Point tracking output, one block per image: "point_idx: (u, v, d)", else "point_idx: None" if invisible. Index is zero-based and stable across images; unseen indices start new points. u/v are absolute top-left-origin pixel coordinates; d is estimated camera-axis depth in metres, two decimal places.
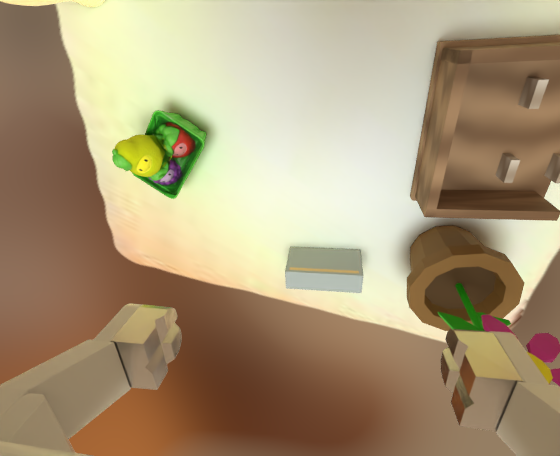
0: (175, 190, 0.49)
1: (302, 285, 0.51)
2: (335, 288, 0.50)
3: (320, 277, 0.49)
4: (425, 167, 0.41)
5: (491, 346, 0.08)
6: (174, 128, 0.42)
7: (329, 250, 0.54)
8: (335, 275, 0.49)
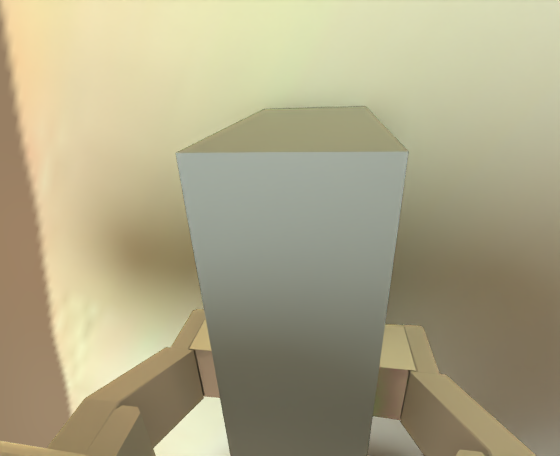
0: None
1: (241, 294, 0.06)
2: (252, 455, 0.08)
3: (336, 403, 0.07)
4: None
5: (397, 338, 0.08)
6: None
7: None
8: None
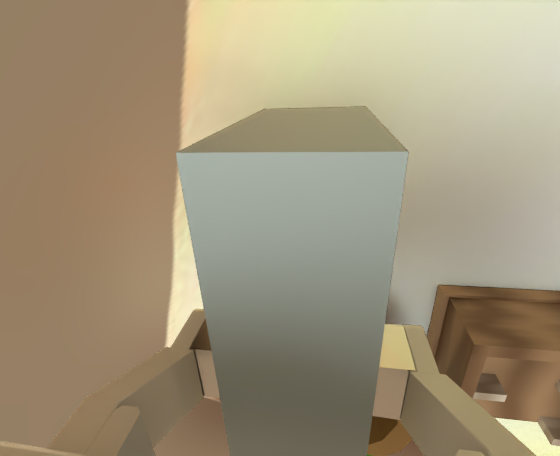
0: None
1: (241, 294, 0.06)
2: (252, 455, 0.08)
3: (336, 403, 0.07)
4: (522, 316, 0.28)
5: (397, 338, 0.08)
6: None
7: None
8: None
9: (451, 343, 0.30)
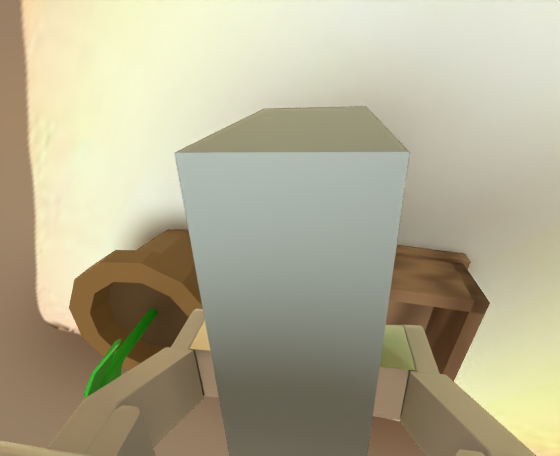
0: None
1: (241, 295, 0.06)
2: None
3: (335, 404, 0.07)
4: None
5: (397, 338, 0.08)
6: None
7: None
8: None
9: None
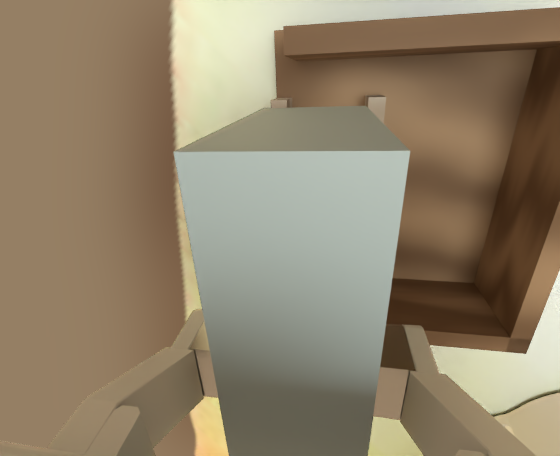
0: None
1: (240, 295, 0.06)
2: None
3: (336, 404, 0.07)
4: None
5: (397, 338, 0.08)
6: None
7: None
8: None
9: None
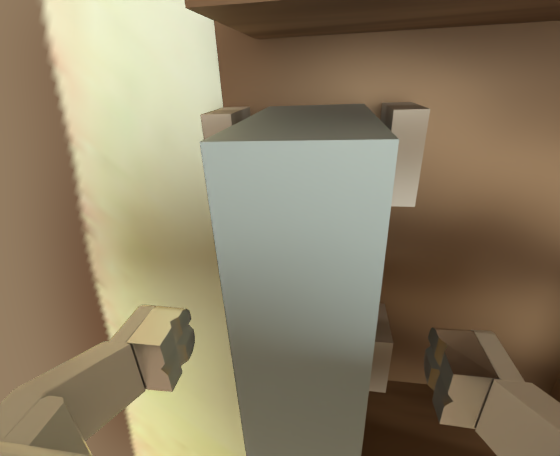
0: None
1: (254, 268, 0.07)
2: (261, 421, 0.09)
3: (337, 367, 0.08)
4: None
5: (471, 344, 0.08)
6: None
7: None
8: (355, 430, 0.09)
9: None
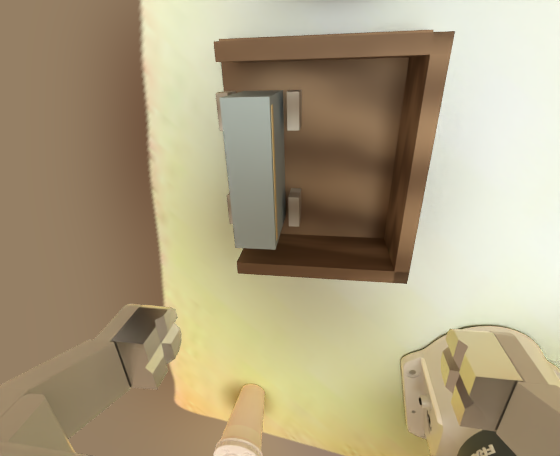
0: None
1: (234, 137, 0.23)
2: (238, 204, 0.25)
3: (262, 175, 0.24)
4: None
5: (491, 346, 0.08)
6: None
7: (283, 168, 0.30)
8: (270, 204, 0.25)
9: None
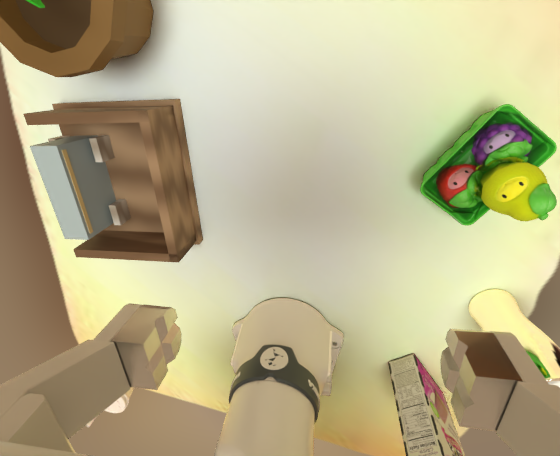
0: (498, 110, 0.32)
1: (44, 169, 0.37)
2: (58, 210, 0.40)
3: (66, 191, 0.38)
4: (172, 152, 0.39)
5: (491, 346, 0.08)
6: (454, 205, 0.35)
7: (108, 186, 0.44)
8: (76, 210, 0.39)
9: (135, 108, 0.37)
